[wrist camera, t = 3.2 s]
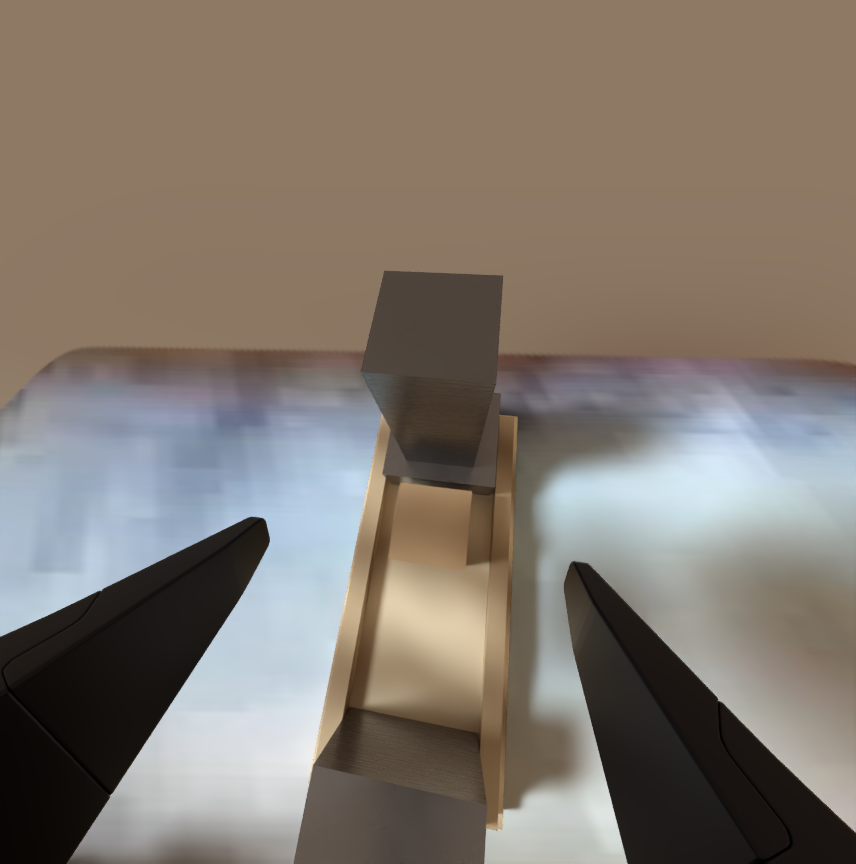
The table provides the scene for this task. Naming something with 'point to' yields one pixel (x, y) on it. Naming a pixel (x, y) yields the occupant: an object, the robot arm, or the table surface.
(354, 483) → the table surface
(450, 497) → the walnut block
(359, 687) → the wooden tray
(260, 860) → the table surface
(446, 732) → the block
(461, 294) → the block
